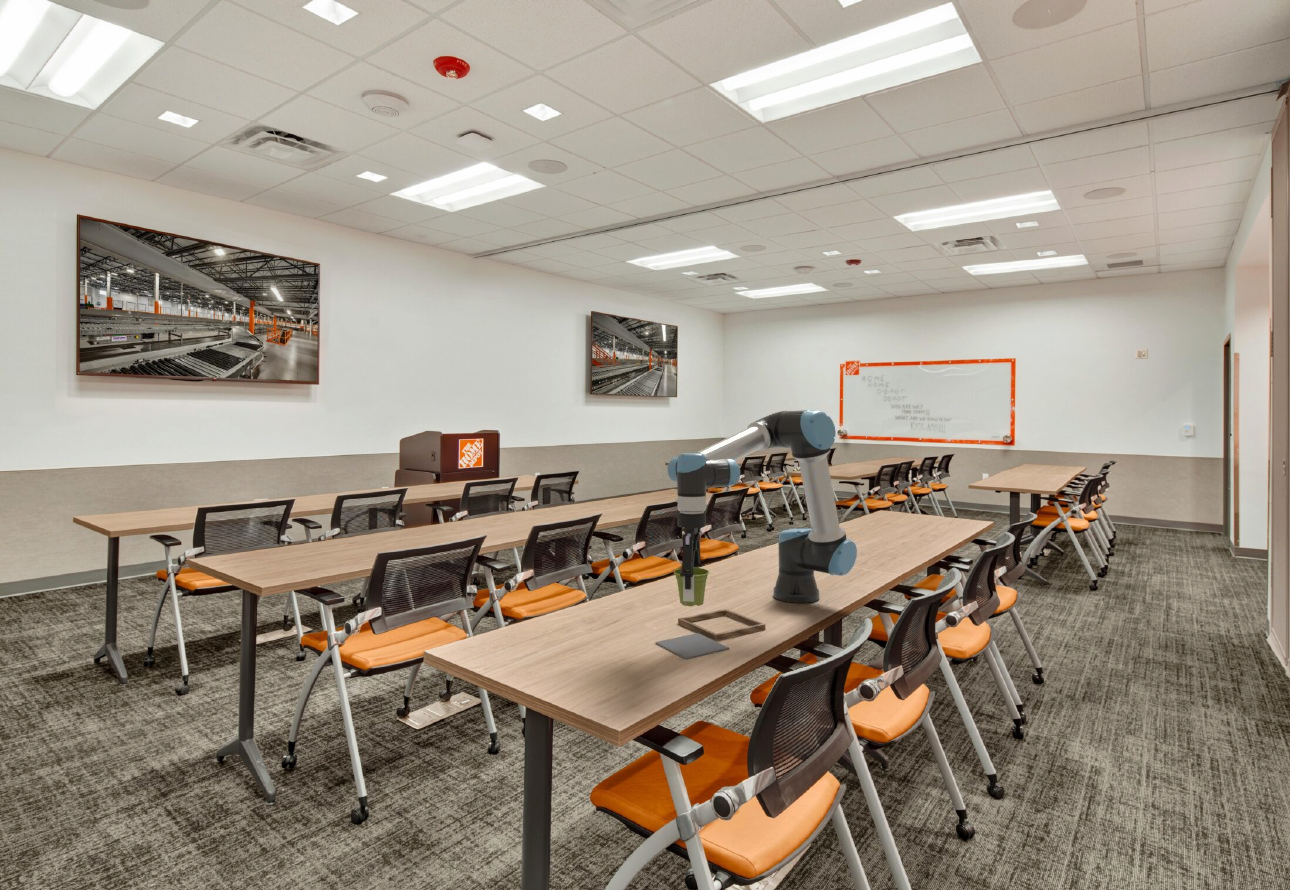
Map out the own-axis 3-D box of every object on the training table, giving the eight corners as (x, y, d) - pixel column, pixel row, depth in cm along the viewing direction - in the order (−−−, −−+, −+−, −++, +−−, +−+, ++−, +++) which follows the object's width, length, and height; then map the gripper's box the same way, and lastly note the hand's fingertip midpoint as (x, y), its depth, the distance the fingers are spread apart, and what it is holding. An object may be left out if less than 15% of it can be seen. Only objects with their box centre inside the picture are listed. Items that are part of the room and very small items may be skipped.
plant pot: (667, 605, 171) (667, 573, 170) (682, 597, 179) (682, 565, 179) (700, 610, 166) (700, 576, 166) (714, 601, 175) (714, 569, 174)
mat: (697, 634, 183) (697, 632, 183) (729, 649, 171) (729, 647, 171) (655, 643, 175) (655, 642, 175) (685, 659, 163) (685, 658, 163)
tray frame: (725, 613, 202) (725, 608, 202) (765, 629, 187) (765, 624, 187) (678, 623, 193) (678, 618, 192) (715, 640, 177) (715, 635, 177)
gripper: (684, 506, 183) (684, 584, 184) (669, 517, 162) (669, 606, 163) (711, 506, 182) (711, 586, 182) (699, 518, 160) (699, 608, 161)
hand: (691, 595), depth 173 cm, fingers closed on plant pot, 9 cm apart
